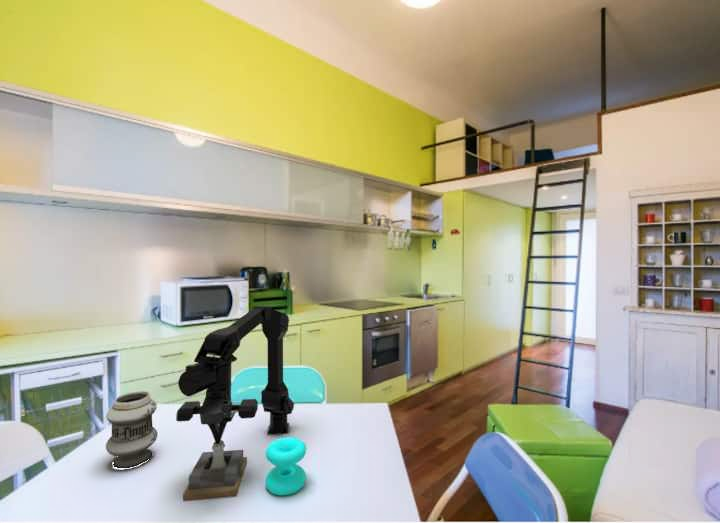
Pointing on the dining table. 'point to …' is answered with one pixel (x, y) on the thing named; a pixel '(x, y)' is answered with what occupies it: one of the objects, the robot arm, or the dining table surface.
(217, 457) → the rook chess piece
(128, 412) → the apothecary jar
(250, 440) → the dining table surface
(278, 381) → the robot arm
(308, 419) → the dining table surface
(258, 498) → the dining table surface
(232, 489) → the socket board
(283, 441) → the donuts
